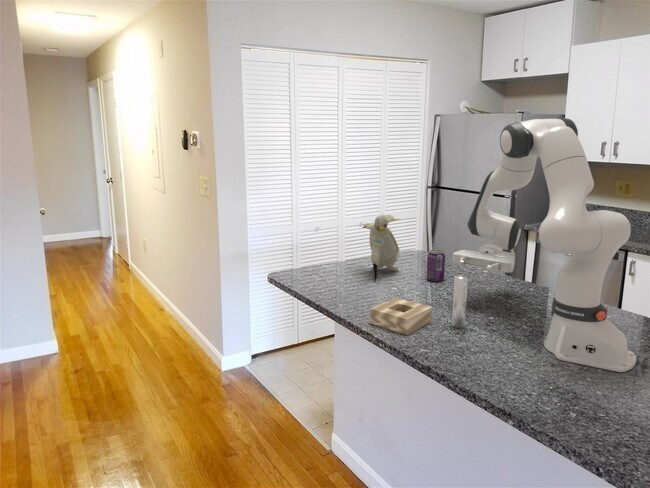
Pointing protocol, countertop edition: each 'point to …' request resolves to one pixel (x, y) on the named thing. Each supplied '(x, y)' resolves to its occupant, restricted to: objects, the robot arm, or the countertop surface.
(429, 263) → the beverage can
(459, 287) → the pin
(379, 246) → the figurine
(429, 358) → the countertop surface
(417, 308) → the socket block
